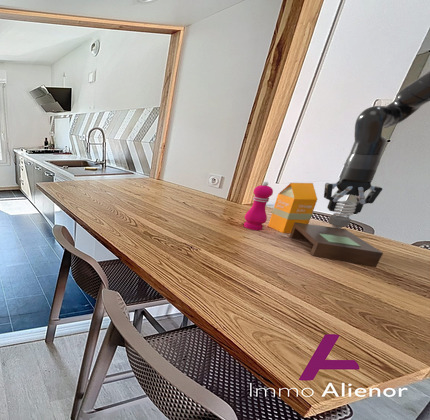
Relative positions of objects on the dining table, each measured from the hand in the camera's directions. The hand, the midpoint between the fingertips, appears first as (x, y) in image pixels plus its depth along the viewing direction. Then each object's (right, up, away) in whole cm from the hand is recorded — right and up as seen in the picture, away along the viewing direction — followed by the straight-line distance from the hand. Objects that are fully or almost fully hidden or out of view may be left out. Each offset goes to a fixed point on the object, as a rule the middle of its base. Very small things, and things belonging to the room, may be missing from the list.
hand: (342, 211), depth 91 cm
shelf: (-14, -14, -7) cm, 21 cm away
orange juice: (-11, -8, +11) cm, 17 cm away
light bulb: (0, -7, +3) cm, 8 cm away
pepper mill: (-24, -7, +13) cm, 28 cm away
